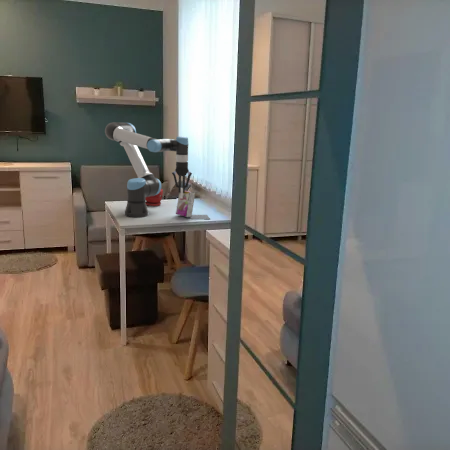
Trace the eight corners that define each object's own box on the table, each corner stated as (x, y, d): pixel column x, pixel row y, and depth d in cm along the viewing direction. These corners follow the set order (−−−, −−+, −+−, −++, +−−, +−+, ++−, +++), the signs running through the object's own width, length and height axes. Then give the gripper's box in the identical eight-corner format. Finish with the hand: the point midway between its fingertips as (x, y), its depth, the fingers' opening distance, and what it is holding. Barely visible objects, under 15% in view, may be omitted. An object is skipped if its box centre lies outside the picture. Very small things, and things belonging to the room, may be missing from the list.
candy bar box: (175, 214, 288) (178, 189, 287) (181, 214, 292) (184, 190, 291) (186, 216, 280) (189, 191, 279) (191, 217, 284) (195, 192, 283)
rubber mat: (190, 219, 280) (190, 218, 280) (187, 215, 292) (187, 214, 292) (210, 219, 283) (210, 218, 283) (206, 215, 295) (206, 214, 295)
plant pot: (150, 207, 310) (150, 190, 308) (141, 204, 320) (141, 188, 317) (166, 205, 319) (166, 189, 316) (156, 202, 328) (156, 186, 326)
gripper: (172, 161, 272) (171, 199, 278) (193, 162, 275) (192, 199, 280) (171, 160, 279) (170, 197, 285) (191, 161, 282) (190, 197, 288)
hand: (181, 198), depth 283 cm, fingers closed
